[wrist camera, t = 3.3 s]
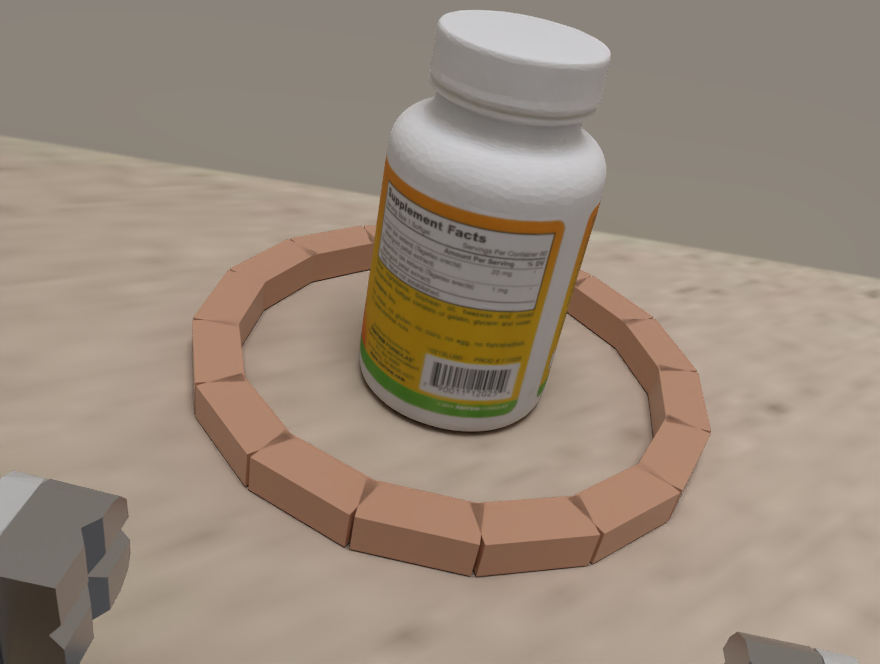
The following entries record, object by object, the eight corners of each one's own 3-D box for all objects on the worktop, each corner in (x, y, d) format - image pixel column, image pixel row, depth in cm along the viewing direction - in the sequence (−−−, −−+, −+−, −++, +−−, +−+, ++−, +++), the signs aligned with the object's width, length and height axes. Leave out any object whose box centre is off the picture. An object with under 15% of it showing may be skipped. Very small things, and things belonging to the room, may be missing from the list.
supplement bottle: (450, 305, 27) (514, -5, 22) (578, 393, 24) (688, 62, 19) (317, 356, 24) (356, 3, 18) (449, 466, 21) (540, 85, 16)
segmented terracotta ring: (93, 491, 18) (90, 458, 18) (281, 219, 30) (283, 193, 30) (731, 634, 18) (748, 605, 18) (668, 302, 30) (677, 278, 29)
